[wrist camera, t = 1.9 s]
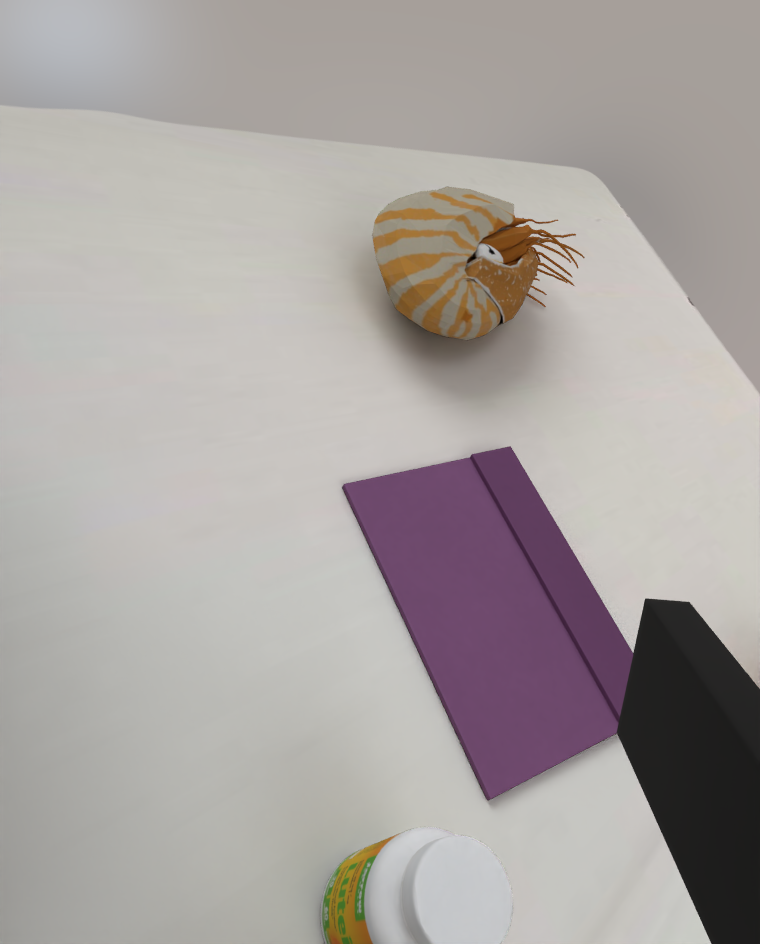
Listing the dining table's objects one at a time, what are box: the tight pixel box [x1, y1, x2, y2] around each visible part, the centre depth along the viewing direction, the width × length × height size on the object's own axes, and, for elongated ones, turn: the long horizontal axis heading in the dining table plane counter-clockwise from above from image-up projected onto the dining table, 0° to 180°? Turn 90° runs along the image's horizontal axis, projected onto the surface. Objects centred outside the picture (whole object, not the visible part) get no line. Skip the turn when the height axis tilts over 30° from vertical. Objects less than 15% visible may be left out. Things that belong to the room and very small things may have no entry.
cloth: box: [342, 447, 633, 800], centre depth 45 cm, size 20×14×1 cm
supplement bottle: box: [320, 827, 513, 944], centre depth 29 cm, size 5×5×10 cm
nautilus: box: [372, 187, 584, 340], centre depth 59 cm, size 8×22×15 cm
